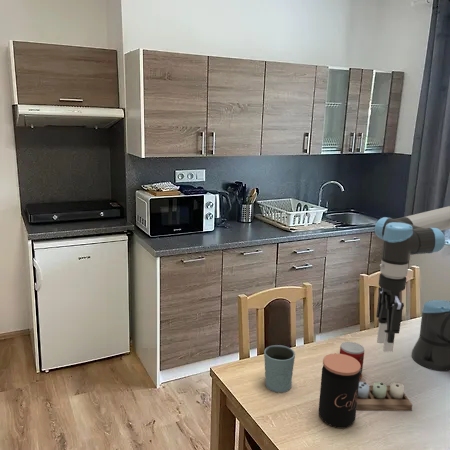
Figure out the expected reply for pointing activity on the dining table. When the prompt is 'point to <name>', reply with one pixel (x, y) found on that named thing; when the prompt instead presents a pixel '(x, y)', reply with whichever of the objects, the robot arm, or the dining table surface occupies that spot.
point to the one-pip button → (396, 390)
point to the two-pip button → (379, 390)
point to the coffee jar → (339, 390)
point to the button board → (383, 402)
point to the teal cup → (278, 368)
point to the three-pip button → (363, 390)
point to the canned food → (353, 352)
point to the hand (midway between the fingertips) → (384, 346)
